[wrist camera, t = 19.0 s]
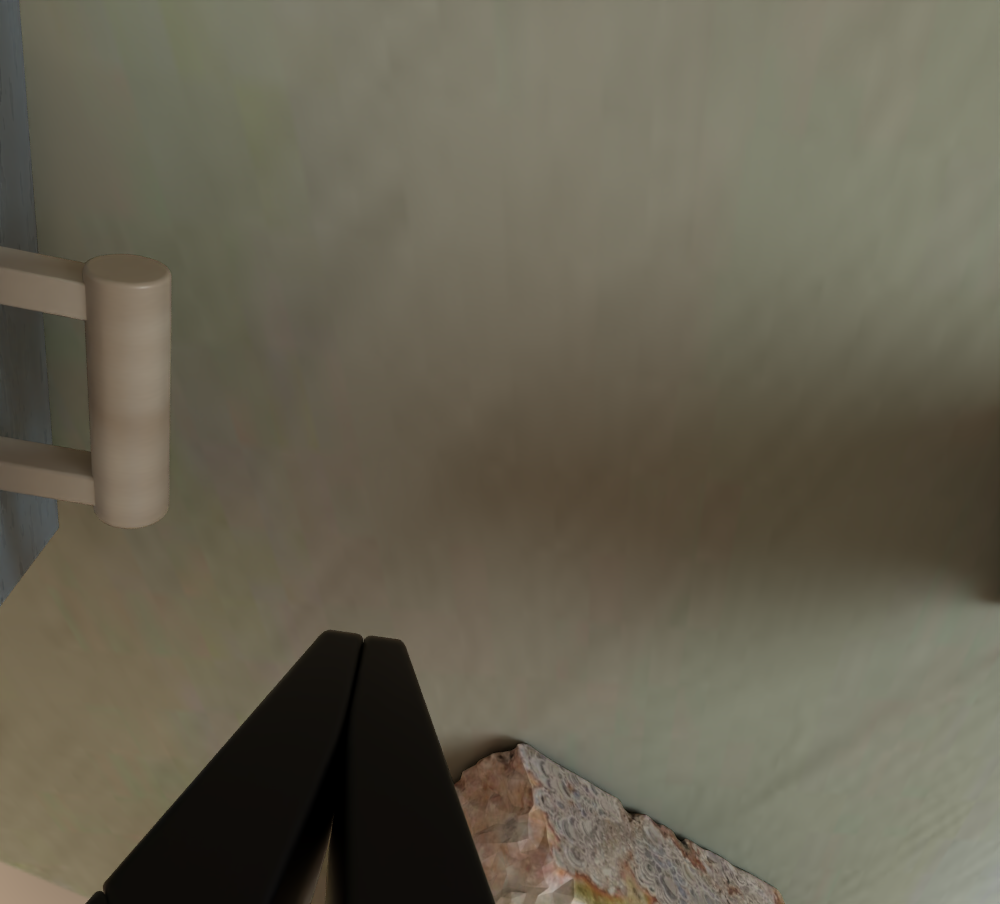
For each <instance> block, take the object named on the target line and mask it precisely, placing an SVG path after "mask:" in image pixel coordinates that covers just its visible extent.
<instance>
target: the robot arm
mask: <svg viewBox="0 0 1000 904" xmlns="http://www.w3.org/2000/svg"><path fill="white" fill-rule="evenodd" d="M333 816H334V817H333ZM332 822H333V824H332ZM331 827H332V831H331ZM330 832H331V838H330V845H329V854H328V866H327V879H326V896H325V904H495V901H494V898H493V895H492V892H491V889H490V886H489V884H488V881H487V878H486V875H485V872H484V869H483V866H482V864H481V861H480V858H479V855H478V852H477V849H476V846H475V843H474V841H473V838H472V835H471V832H470V829H469V826H468V823H467V821H466V818H465V815H464V812H463V809H462V806H461V803H460V801H459V798H458V795H457V792H456V789H455V786H454V783H453V780H452V778H451V775H450V772H449V769H448V766H447V763H446V760H445V758H444V755H443V752H442V749H441V746H440V743H439V740H438V738H437V735H436V732H435V729H434V726H433V723H432V720H431V718H430V715H429V712H428V709H427V706H426V703H425V700H424V697H423V695H422V692H421V689H420V686H419V683H418V680H417V677H416V675H415V672H414V669H413V666H412V663H411V660H410V657H409V655H408V652H407V649H406V646H405V645H404V643H403V642H402V641H401V640H398V639H392V638H385V637H378V636H368V637H366V638H365V639H364V642H363V638H362V636H361V635H360V634H356V633H349V632H342V631H335V630H327V631H324V632H323V633H322V634H321V635H320V636H319V637H318V638H317V639H316V640H315V641H314V643H313V644H312V645H311V646H310V647H309V648H308V649H307V651H306V652H305V653H304V654H303V655H302V656H301V658H300V659H299V660H298V661H297V662H296V663H295V664H294V666H293V667H292V668H291V669H290V670H289V671H288V672H287V674H286V675H285V676H284V677H283V678H282V679H281V680H280V682H279V683H278V684H277V685H276V686H275V687H274V689H273V690H272V691H271V692H270V693H269V694H268V695H267V697H266V698H265V699H264V700H263V701H262V702H261V703H260V705H259V706H258V707H257V708H256V709H255V710H254V711H253V713H252V714H251V715H250V716H249V717H248V718H247V720H246V721H245V722H244V723H243V724H242V725H241V726H240V728H239V729H238V730H237V731H236V732H235V733H234V734H233V736H232V737H231V738H230V739H229V740H228V741H227V742H226V744H225V745H224V746H223V747H222V748H221V749H220V751H219V752H218V753H217V754H216V755H215V756H214V757H213V759H212V760H211V761H210V762H209V763H208V764H207V765H206V767H205V768H204V769H203V770H202V771H201V772H200V774H199V775H198V776H197V777H196V778H195V779H194V780H193V782H192V783H191V784H190V785H189V786H188V787H187V788H186V790H185V791H184V792H183V793H182V794H181V795H180V796H179V798H178V799H177V800H176V801H175V802H174V803H173V805H172V806H171V807H170V808H169V809H168V810H167V811H166V813H165V814H164V815H163V816H162V817H161V818H160V819H159V821H158V822H157V823H156V824H155V825H154V826H153V827H152V829H151V830H150V831H149V832H148V833H147V834H146V836H145V837H144V838H143V839H142V840H141V841H140V842H139V844H138V845H137V846H136V847H135V848H134V849H133V850H132V852H131V853H130V854H129V855H128V856H127V857H126V859H125V860H124V861H123V862H122V863H121V864H120V865H119V867H118V868H117V869H116V870H115V871H114V872H113V873H112V875H111V876H110V877H109V878H108V879H107V880H106V881H105V883H104V885H103V892H102V891H97V892H96V893H95V894H94V895H93V896H92V897H91V898H90V899H89V900H88V902H87V903H86V904H311V901H312V898H313V894H314V891H315V888H316V884H317V881H318V878H319V875H320V871H321V868H322V864H323V861H324V857H325V853H326V850H327V846H328V841H329V836H330Z"/></svg>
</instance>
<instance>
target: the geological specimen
mask: <svg viewBox="0 0 1000 904" xmlns="http://www.w3.org/2000/svg"><path fill="white" fill-rule="evenodd" d="M454 786H455V789H456V792H457V795H458V798H459V801H460V803H461V806H462V809H463V812H464V815H465V818H466V821H467V823H468V826H469V829H470V832H471V835H472V838H473V841H474V843H475V846H476V849H477V852H478V855H479V858H480V861H481V864H482V866H483V869H484V872H485V875H486V878H487V881H488V884H489V886H490V889H491V892H492V895H493V898H494V901H495V904H785V903H784V901H783V898H782V895H781V894H780V893H779V891H778V890H777V889H776V888H774V887H772V886H770V885H769V884H767V883H765V882H763V881H762V880H760V879H758V878H757V877H755V876H753V875H751V874H750V873H747V872H745V871H743V870H741V869H739V868H737V867H734V866H732V865H731V864H730V863H729V862H728V861H727V860H726V859H724V858H722V857H720V856H718V855H716V854H715V853H713V852H711V851H709V850H703V849H702V848H701V847H699V846H698V845H696V844H695V843H693V842H692V841H690V840H688V839H684V840H683V841H682V842H681V841H679V840H678V839H677V838H676V836H675V834H674V832H673V831H672V830H670V829H669V828H667V827H666V826H664V825H659V824H656V823H655V822H654V821H653V820H652V819H651V818H650V817H649V816H647V815H645V814H638V813H635V814H630V813H627V811H626V810H624V808H623V806H622V804H621V802H620V800H619V799H618V798H616V797H614V796H612V795H610V794H608V793H606V792H604V791H603V790H601V789H599V788H598V787H596V786H595V785H593V784H591V783H590V782H588V781H586V780H585V779H583V778H581V777H579V776H578V775H576V774H574V773H572V772H571V771H569V770H567V769H565V768H564V767H562V766H560V765H558V764H557V763H555V762H553V761H552V760H550V759H548V758H547V757H545V756H544V755H542V754H541V753H539V752H538V751H537V750H535V749H534V748H533V747H532V746H530V745H528V744H525V743H523V744H518V745H517V747H516V748H515V749H513V750H511V751H504V752H498V753H492V754H491V755H489V756H487V757H485V758H482V759H480V760H479V761H478V763H477V764H476V765H475V766H473V767H471V768H469V769H467V770H465V771H463V772H462V776H461V779H460V780H459V781H458V782H457V783H455V784H454Z"/></svg>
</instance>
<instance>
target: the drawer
mask: <svg viewBox="0 0 1000 904" xmlns="http://www.w3.org/2000/svg"><path fill="white" fill-rule="evenodd" d="M171 296H172V275H171V272H170V270H169V269H168V267H167V266H165V265H164V264H162V263H161V262H159V261H156V260H154V259H150V258H147V257H143V256H137V255H129V254H110V255H102V256H98V257H94V258H92V259H90V260H88V261H87V262H86V263H82V262H77V261H72V260H67V259H62V258H57V257H52V256H47V255H42V254H38V243H37V230H36V217H35V203H34V190H33V177H32V164H31V151H30V137H29V124H28V111H27V98H26V84H25V71H24V58H23V45H22V31H21V18H20V5H19V0H0V606H1V605H2V603H3V602H4V601H5V599H6V598H7V597H8V595H9V594H10V593H11V591H12V590H13V589H14V587H15V586H16V584H17V583H18V582H19V580H20V579H21V578H22V576H23V575H24V574H25V572H26V571H27V570H28V568H29V567H30V566H31V564H32V563H33V562H34V560H35V559H36V558H37V556H38V555H39V554H40V552H41V551H42V550H43V548H44V547H45V546H46V544H47V543H48V542H49V540H50V539H51V538H52V536H53V535H54V534H55V532H56V531H57V530H58V528H59V521H58V508H57V500H63V501H69V502H75V503H81V504H87V505H93V506H94V512H95V514H96V515H97V517H98V518H99V519H100V520H101V521H102V522H104V523H106V524H108V525H110V526H113V527H117V528H124V529H134V528H142V527H146V526H149V525H152V524H154V523H156V522H158V521H159V520H161V519H162V518H163V517H164V516H165V514H166V513H167V511H168V509H169V471H170V383H171ZM43 313H49V314H54V315H59V316H64V317H69V318H75V319H80V320H85V337H86V358H87V379H88V400H89V421H90V442H91V452H88V451H83V450H77V449H71V448H65V447H60V446H54V445H53V442H52V429H51V415H50V402H49V389H48V376H47V362H46V349H45V336H44V323H43Z"/></svg>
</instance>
